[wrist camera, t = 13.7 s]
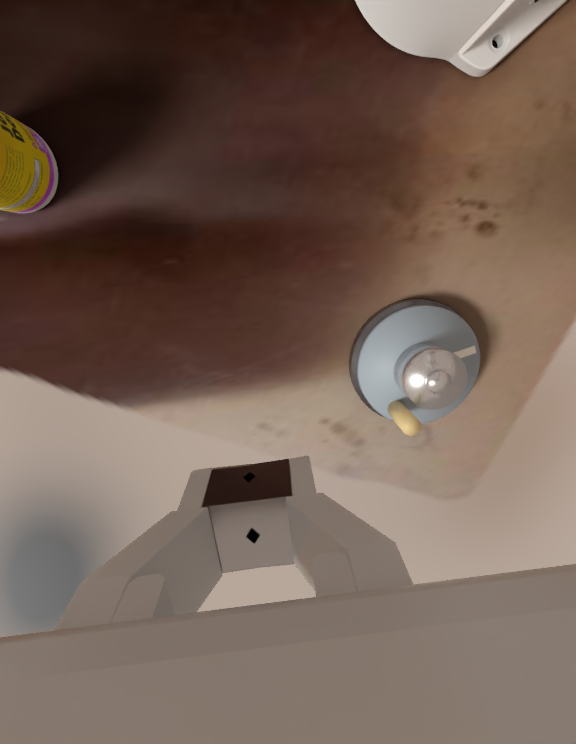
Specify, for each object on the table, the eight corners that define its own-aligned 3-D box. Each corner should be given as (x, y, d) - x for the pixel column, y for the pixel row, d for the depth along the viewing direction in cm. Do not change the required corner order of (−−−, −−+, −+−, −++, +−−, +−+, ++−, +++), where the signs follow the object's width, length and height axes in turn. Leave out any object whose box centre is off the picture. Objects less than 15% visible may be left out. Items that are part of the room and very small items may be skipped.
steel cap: (453, 342, 33) (476, 352, 29) (445, 396, 34) (466, 412, 31) (396, 342, 33) (412, 352, 29) (390, 396, 34) (405, 412, 30)
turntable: (482, 305, 33) (519, 312, 28) (463, 418, 37) (494, 443, 32) (360, 303, 33) (377, 311, 28) (352, 419, 36) (366, 444, 31)
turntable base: (441, 274, 34) (447, 274, 33) (487, 381, 37) (493, 384, 36) (327, 339, 35) (329, 341, 34) (381, 437, 38) (384, 441, 37)
